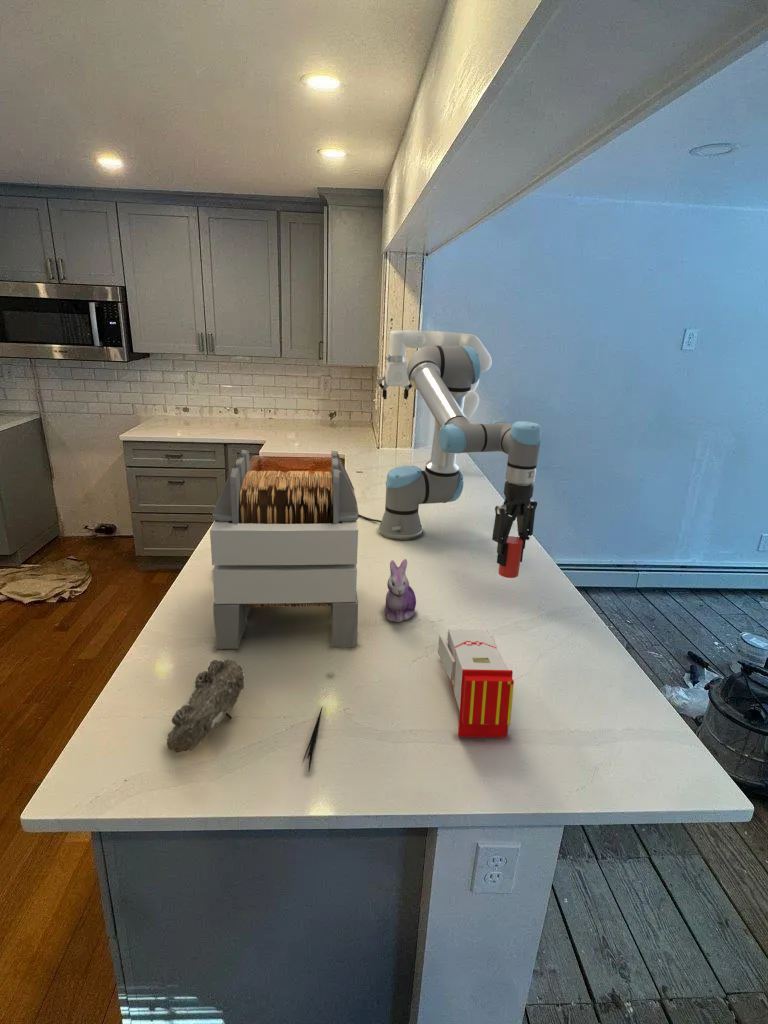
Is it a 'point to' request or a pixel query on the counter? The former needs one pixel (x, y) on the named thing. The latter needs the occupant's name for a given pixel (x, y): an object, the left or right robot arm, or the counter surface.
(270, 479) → the grey record storage rack
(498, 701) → the toy
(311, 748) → the feather
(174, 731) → the fossil
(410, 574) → the counter surface
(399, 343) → the right robot arm
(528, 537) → the left robot arm
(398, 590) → the figurine
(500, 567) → the can
